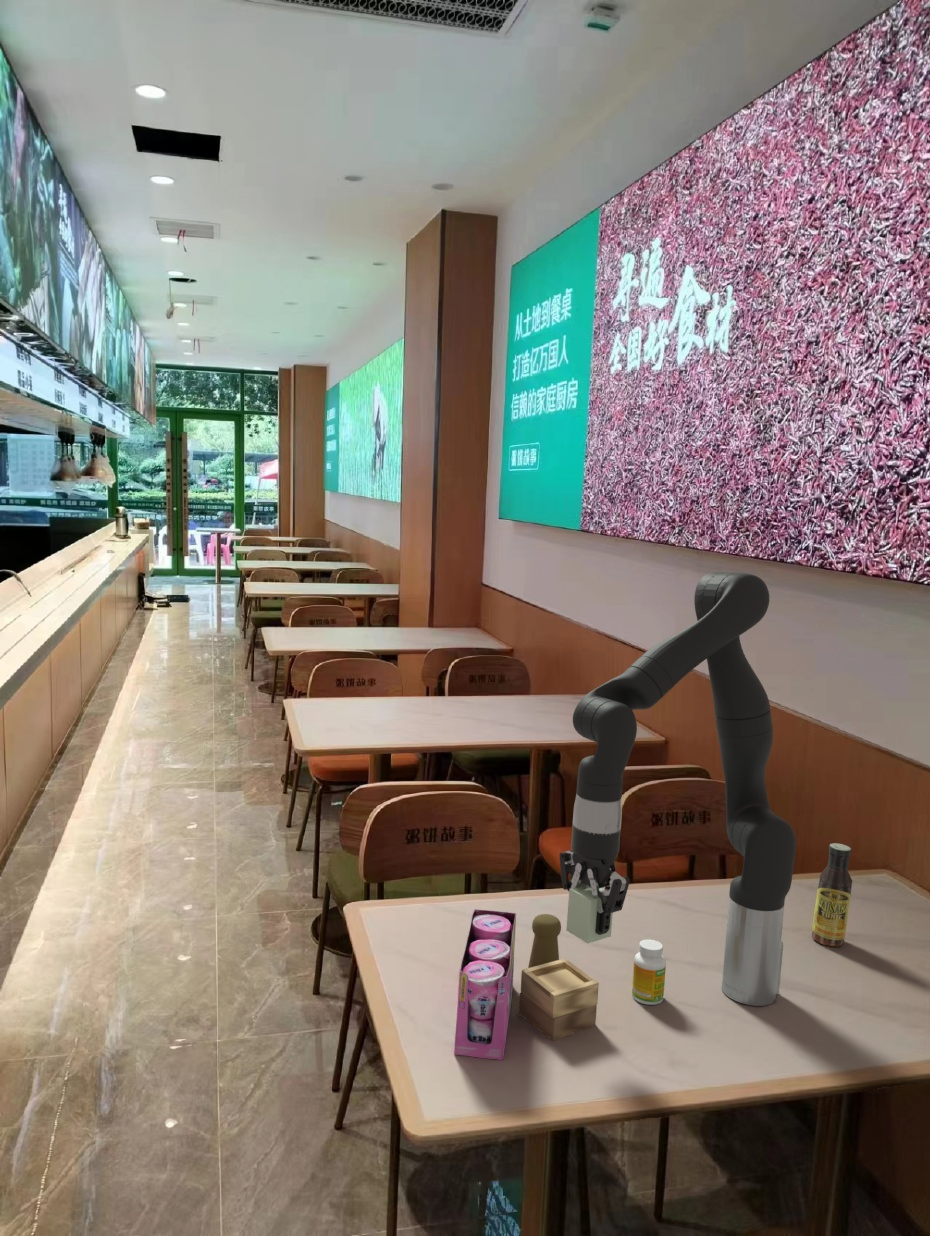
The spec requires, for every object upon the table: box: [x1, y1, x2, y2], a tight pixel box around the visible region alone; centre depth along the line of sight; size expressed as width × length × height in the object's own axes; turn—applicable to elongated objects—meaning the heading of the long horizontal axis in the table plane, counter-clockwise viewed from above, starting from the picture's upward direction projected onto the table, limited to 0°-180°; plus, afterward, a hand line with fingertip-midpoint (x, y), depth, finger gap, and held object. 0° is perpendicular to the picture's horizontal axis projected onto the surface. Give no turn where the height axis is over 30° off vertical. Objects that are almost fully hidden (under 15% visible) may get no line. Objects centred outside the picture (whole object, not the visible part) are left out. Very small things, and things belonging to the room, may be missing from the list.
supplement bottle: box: [631, 939, 667, 1006], centre depth 158 cm, size 5×5×10 cm
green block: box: [566, 885, 614, 944], centre depth 145 cm, size 5×5×7 cm
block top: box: [520, 958, 600, 1018], centre depth 150 cm, size 9×9×4 cm
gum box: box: [453, 908, 517, 1061], centre depth 148 cm, size 24×8×14 cm, turn 174°
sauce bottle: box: [811, 842, 853, 948], centre depth 182 cm, size 7×6×20 cm
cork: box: [527, 913, 562, 968], centre depth 164 cm, size 6×6×11 cm
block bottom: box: [518, 991, 598, 1041], centre depth 150 cm, size 9×9×4 cm
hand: (589, 925), depth 145 cm, fingers closed on green block, 5 cm apart
